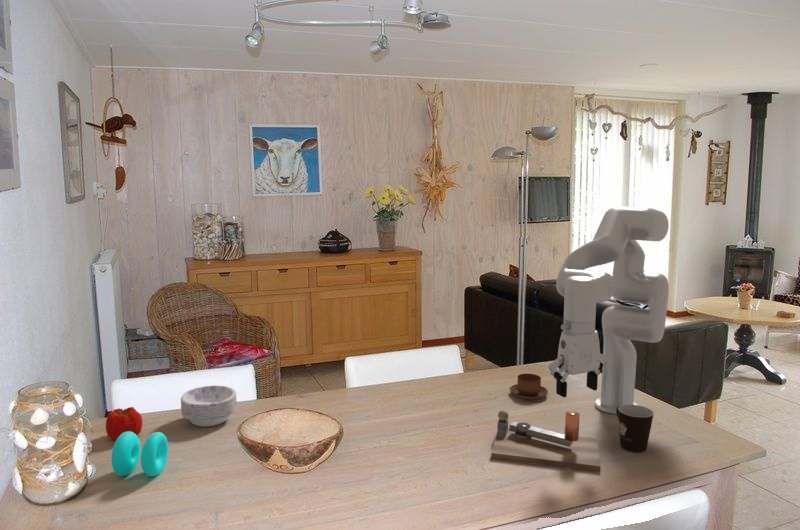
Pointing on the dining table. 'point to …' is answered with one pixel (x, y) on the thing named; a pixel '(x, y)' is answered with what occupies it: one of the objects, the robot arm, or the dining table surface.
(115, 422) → the tomato
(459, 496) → the dining table surface
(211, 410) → the paper bowls
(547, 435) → the lever
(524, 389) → the cup and saucer
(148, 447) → the donuts
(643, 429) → the coffee mug
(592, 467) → the wooden lever base
